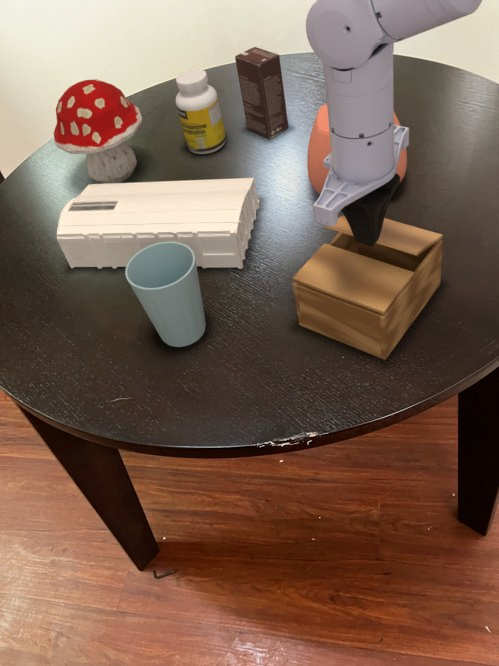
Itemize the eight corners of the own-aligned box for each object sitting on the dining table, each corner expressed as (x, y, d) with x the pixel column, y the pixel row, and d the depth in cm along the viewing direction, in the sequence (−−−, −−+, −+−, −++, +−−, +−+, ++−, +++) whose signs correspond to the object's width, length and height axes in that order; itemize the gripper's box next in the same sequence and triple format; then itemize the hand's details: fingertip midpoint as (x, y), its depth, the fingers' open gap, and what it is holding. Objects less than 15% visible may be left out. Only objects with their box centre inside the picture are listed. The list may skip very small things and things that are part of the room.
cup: (139, 331, 78) (111, 267, 70) (190, 298, 80) (168, 231, 73) (174, 365, 73) (149, 299, 66) (227, 328, 76) (208, 260, 68)
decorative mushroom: (65, 205, 100) (24, 116, 89) (81, 156, 109) (46, 70, 98) (153, 192, 98) (122, 99, 87) (161, 143, 107) (134, 54, 97)
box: (290, 127, 104) (280, 53, 95) (269, 140, 102) (257, 66, 94) (266, 116, 108) (254, 44, 99) (245, 128, 106) (232, 56, 97)
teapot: (402, 136, 97) (402, 56, 88) (411, 219, 83) (412, 135, 75) (312, 145, 99) (304, 68, 91) (307, 227, 86) (296, 146, 77)
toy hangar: (265, 199, 92) (257, 156, 87) (246, 269, 82) (236, 225, 77) (103, 204, 98) (87, 164, 93) (68, 269, 88) (48, 229, 83)
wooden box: (357, 257, 80) (354, 209, 75) (440, 284, 75) (443, 234, 69) (299, 325, 74) (291, 278, 69) (385, 360, 68) (384, 312, 63)
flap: (353, 212, 75) (354, 209, 75) (442, 238, 70) (443, 234, 69) (324, 227, 71) (325, 224, 71) (416, 255, 65) (417, 252, 65)
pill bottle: (180, 147, 105) (161, 79, 97) (211, 129, 108) (195, 61, 99) (203, 160, 102) (185, 91, 93) (235, 142, 104) (220, 72, 95)
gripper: (362, 77, 63) (368, 193, 73) (278, 155, 56) (296, 271, 66) (430, 88, 60) (426, 208, 69) (348, 172, 53) (357, 292, 63)
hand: (366, 240), depth 68 cm, fingers closed
